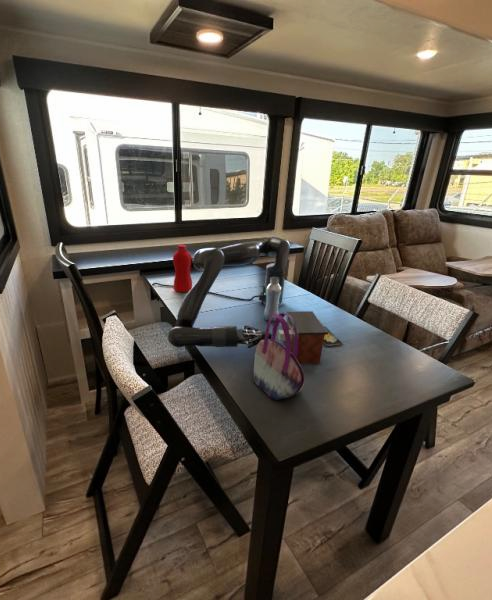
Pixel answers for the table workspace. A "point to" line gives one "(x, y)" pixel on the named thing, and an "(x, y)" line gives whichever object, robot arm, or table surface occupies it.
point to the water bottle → (182, 270)
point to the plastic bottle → (272, 299)
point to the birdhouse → (307, 336)
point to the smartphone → (331, 339)
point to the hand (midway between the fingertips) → (271, 335)
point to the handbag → (278, 363)
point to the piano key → (282, 336)
